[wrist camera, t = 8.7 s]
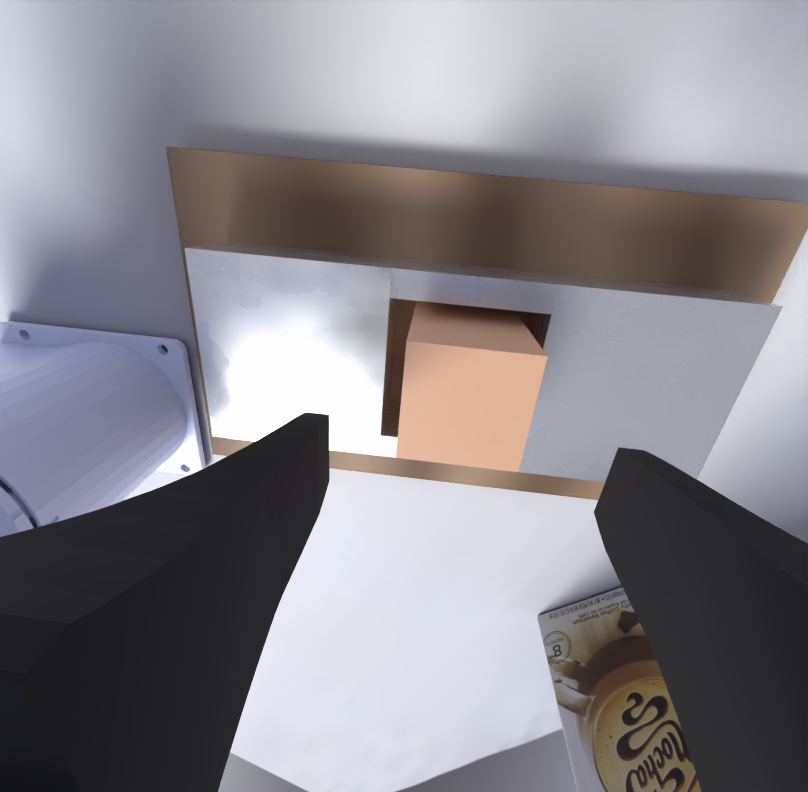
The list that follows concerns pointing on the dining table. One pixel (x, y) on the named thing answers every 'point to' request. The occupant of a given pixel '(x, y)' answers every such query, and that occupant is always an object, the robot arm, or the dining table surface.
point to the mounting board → (479, 245)
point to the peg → (468, 386)
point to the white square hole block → (480, 287)
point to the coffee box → (614, 700)
